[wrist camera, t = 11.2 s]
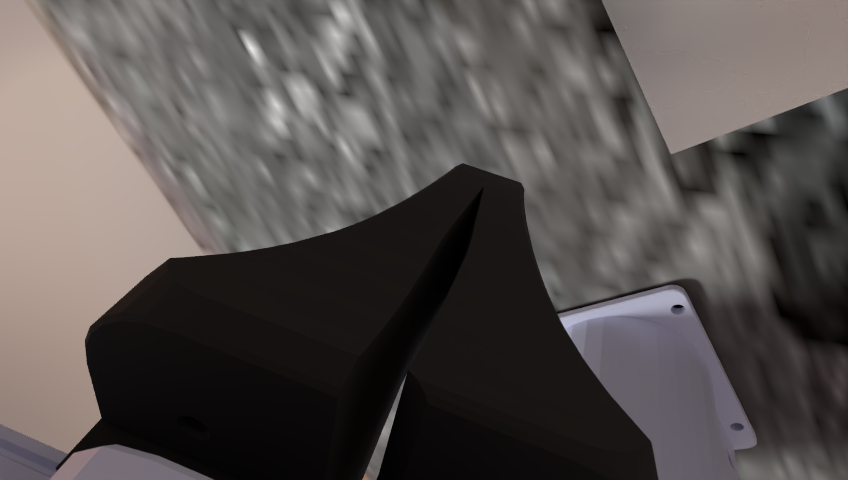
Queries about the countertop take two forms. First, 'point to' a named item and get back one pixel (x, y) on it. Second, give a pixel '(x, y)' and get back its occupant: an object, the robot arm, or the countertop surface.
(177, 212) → the countertop surface
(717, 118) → the beige square slab
